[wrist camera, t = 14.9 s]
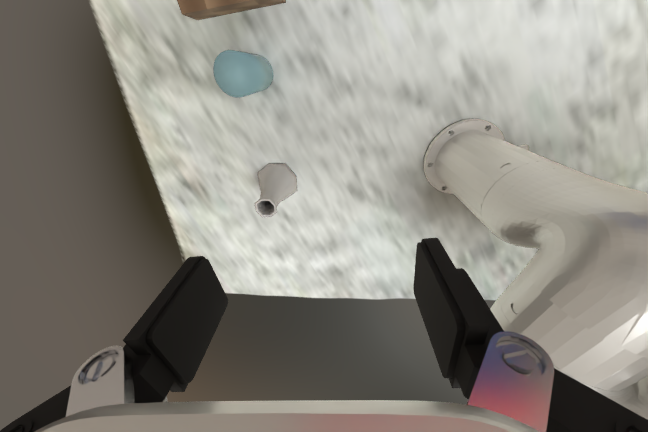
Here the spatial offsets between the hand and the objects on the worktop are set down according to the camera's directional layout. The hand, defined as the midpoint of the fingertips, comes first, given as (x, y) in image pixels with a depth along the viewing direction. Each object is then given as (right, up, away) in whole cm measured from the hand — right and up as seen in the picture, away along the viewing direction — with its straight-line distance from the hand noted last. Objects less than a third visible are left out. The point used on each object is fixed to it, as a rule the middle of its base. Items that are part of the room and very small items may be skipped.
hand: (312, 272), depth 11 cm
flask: (-8, +9, +33) cm, 35 cm away
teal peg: (-9, +23, +24) cm, 35 cm away
